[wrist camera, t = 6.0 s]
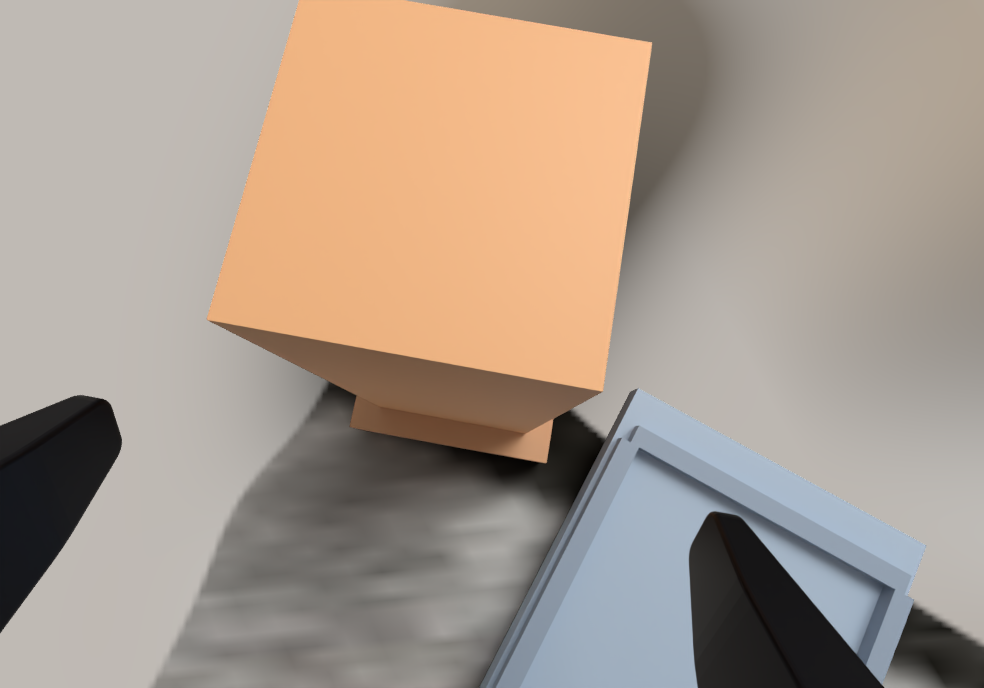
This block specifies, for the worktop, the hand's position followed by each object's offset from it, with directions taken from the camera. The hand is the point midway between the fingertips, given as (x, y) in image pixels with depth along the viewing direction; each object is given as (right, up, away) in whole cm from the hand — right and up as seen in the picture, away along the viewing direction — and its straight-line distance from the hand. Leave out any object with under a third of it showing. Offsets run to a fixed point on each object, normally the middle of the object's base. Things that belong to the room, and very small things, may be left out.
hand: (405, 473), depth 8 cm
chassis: (+7, -7, +9) cm, 14 cm away
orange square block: (0, +1, +11) cm, 11 cm away
